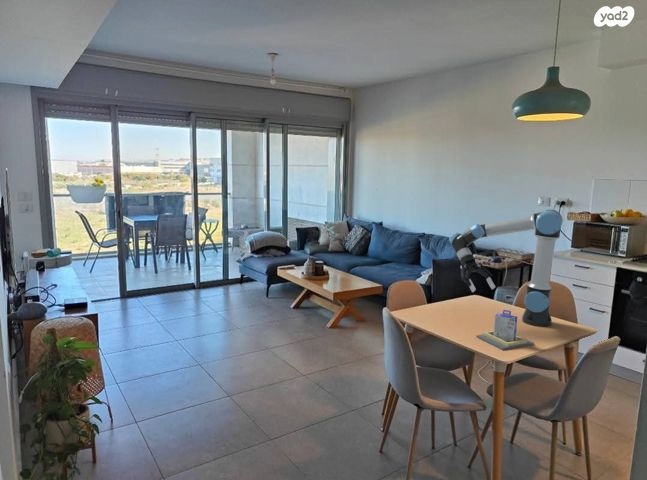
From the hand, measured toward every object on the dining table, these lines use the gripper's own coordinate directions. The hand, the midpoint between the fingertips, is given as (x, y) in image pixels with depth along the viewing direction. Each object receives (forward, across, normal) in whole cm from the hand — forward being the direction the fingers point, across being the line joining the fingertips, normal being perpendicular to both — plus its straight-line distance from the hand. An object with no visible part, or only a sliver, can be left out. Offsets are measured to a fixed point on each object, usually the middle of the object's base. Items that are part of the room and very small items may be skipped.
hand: (484, 289), depth 238 cm
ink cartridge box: (+29, +4, 0) cm, 29 cm away
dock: (+29, +4, -1) cm, 30 cm away
